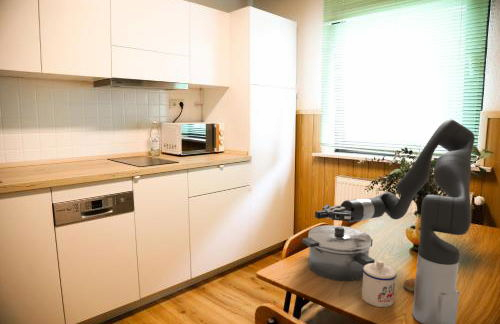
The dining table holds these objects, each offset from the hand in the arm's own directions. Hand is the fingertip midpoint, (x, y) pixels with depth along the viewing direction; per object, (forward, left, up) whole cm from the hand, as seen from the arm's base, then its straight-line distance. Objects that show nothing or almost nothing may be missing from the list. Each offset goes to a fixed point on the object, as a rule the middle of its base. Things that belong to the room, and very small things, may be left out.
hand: (316, 215), depth 112 cm
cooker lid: (0, -8, -10) cm, 13 cm away
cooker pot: (0, -11, -20) cm, 23 cm away
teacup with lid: (-21, -9, -20) cm, 30 cm away
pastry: (-23, -24, -20) cm, 39 cm away
